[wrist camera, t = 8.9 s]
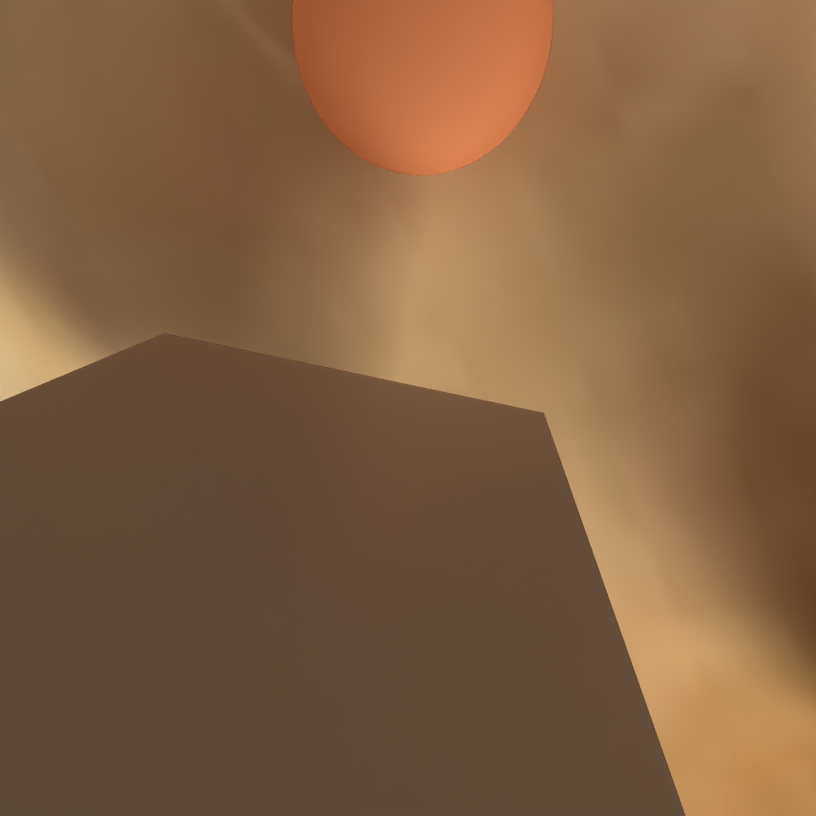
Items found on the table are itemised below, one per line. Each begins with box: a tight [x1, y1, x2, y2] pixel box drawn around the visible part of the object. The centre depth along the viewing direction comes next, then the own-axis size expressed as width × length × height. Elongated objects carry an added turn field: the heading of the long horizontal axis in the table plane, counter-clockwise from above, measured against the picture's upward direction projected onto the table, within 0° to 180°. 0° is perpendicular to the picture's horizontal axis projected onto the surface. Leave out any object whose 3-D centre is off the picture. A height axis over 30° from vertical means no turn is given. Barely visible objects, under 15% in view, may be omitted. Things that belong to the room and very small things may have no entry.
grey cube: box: [0, 333, 685, 816], centre depth 8 cm, size 8×8×9 cm
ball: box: [292, 0, 553, 175], centre depth 11 cm, size 5×5×5 cm
